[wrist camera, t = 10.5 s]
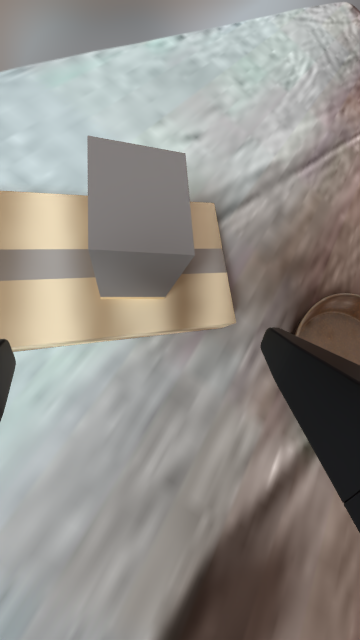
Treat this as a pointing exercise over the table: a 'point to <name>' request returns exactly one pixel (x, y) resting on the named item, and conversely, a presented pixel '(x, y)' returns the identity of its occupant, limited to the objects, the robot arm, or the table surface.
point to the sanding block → (137, 219)
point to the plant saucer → (334, 325)
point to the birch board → (80, 283)
